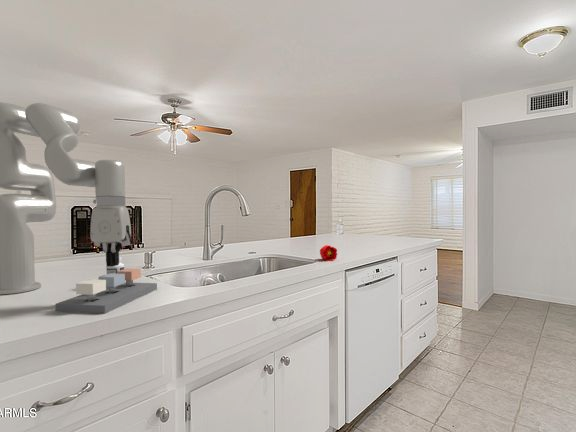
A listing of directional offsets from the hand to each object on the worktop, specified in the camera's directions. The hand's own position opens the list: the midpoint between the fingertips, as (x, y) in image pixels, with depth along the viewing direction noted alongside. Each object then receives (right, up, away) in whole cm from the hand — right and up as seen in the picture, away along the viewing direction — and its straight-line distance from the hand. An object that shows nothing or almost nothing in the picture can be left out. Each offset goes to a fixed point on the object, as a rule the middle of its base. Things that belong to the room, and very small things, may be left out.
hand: (112, 265), depth 91 cm
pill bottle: (-8, -10, +16) cm, 21 cm away
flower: (+72, -8, +69) cm, 100 cm away
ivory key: (-1, -8, -8) cm, 11 cm away
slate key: (0, -8, 0) cm, 8 cm away
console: (0, -10, 0) cm, 10 cm away
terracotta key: (+1, -8, +8) cm, 11 cm away
